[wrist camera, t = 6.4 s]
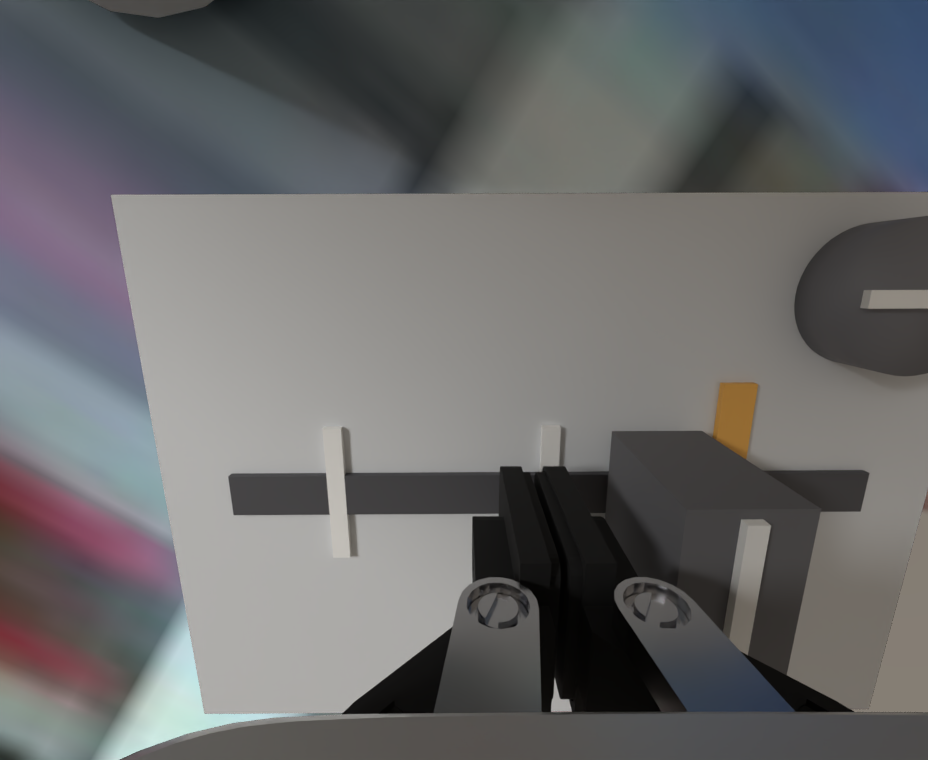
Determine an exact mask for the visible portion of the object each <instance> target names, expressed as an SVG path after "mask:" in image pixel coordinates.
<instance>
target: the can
mask: <svg viewBox="0 0 928 760" xmlns="http://www.w3.org/2000/svg"><path fill="white" fill-rule="evenodd" d="M89 1H91V2H93V3H95V4H97V5H99V6H101V7H103V8H105V9H107V10H109V11H113V12H120V13H127V14H135V15H142V16H149V17H156V18H160V17H164V16H169V15H173V14H177V13H182V12H186V11H190V10H194V9H199V8H203V7H205V6H207V5H208V4H209V3H211V2H212V1H214V0H89Z"/></svg>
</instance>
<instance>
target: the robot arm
mask: <svg viewBox="0 0 928 760" xmlns="http://www.w3.org/2000/svg"><path fill="white" fill-rule="evenodd" d="M554 680H556V685H557V689H558V693H559V697H560V699H569V702H570V706H571V710H572V712H551V703H552V699H553V695H554ZM120 760H928V713H918V712H916V713H915V712H914V713H913V712H912V713H911V712H907V713H906V712H904V713H903V712H854V711H852V710H851V709H849V708H847V707H846V706H844V705H842V704H841V703H839V702H837V701H836V700H834V699H832V698H830V697H828V696H826V695H824V694H822V693H820V692H818V691H816V690H814V689H812V688H810V687H808V686H807V685H805V684H803V683H801V682H799V681H797V680H795V679H793V678H791V677H789V676H787V675H785V674H783V673H781V672H779V671H778V670H776V669H774V668H772V667H770V666H768V665H766V664H764V663H762V662H760V661H758V660H756V659H754V658H752V657H750V656H749V655H747V654H745V653H743V652H741V651H739V649H738V648H737V647H736V646H735V645H734V644H733V643H732V642H731V641H730V640H729V638H728V637H727V636H726V635H725V634H724V633H723V632H722V631H721V630H720V629H719V628H718V626H717V625H716V624H715V623H714V622H713V621H712V620H711V619H710V618H709V617H708V616H707V614H706V613H705V612H704V611H703V610H702V609H701V608H700V607H699V606H698V605H697V604H696V602H695V601H694V600H693V599H692V598H690V597H689V596H688V595H687V594H686V593H685V592H684V591H682V590H680V589H679V588H677V587H675V586H674V585H672V584H669V583H667V582H664V581H661V580H658V579H653V578H648V577H638V575H637V573H636V572H635V570H634V568H633V567H632V565H631V563H630V561H629V560H628V558H627V556H626V555H625V553H624V551H623V549H622V548H621V546H620V544H619V542H618V541H617V539H616V537H615V536H614V534H613V532H612V530H611V529H610V527H609V525H608V524H607V522H606V520H605V519H604V518H603V517H601V516H591V514H590V512H589V510H588V508H587V506H586V504H585V502H584V501H583V499H582V497H581V495H580V493H579V491H578V489H577V488H576V486H575V484H574V482H573V480H572V478H571V476H570V474H569V473H568V471H567V469H566V467H565V466H543V468H542V472H535V478H534V483H533V480H532V477H531V474H530V472H523V470H522V467H521V466H500V475H499V516H472V583H471V584H469V585H468V586H467V587H466V588H465V589H464V590H463V591H462V593H461V595H460V598H459V600H458V604H457V609H456V613H455V618H454V622H453V627H451V628H450V629H449V630H447V631H446V632H445V633H444V634H442V635H441V636H440V637H438V638H437V639H436V640H434V641H433V642H432V643H430V644H429V645H428V646H427V647H425V648H424V649H423V650H421V651H420V652H419V653H417V654H416V655H415V656H413V657H412V658H411V659H410V660H408V661H407V662H406V663H404V664H403V665H402V666H400V667H399V668H398V669H397V670H395V671H394V672H393V673H391V674H390V675H389V676H387V677H386V678H385V679H383V680H382V681H381V682H380V683H378V684H377V685H376V686H374V687H373V688H372V689H370V690H369V691H368V692H366V693H365V694H364V695H363V696H361V697H360V698H359V699H357V700H356V701H355V702H354V703H353V704H352V705H350V706H349V707H348V708H347V709H346V710H345V711H344V712H343V713H342V715H322V716H302V717H281V718H269V719H261V720H254V721H246V722H239V723H232V724H227V725H223V726H219V727H214V728H210V729H206V730H202V731H197V732H193V733H189V734H185V735H183V736H180V737H177V738H174V739H171V740H168V741H166V742H163V743H160V744H157V745H154V746H152V747H149V748H146V749H143V750H140V751H138V752H136V753H133V754H131V755H129V756H127V757H124V758H122V759H120Z"/></svg>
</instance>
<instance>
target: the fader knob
mask: <svg viewBox="0 0 928 760" xmlns="http://www.w3.org/2000/svg"><path fill="white" fill-rule="evenodd" d="M820 513H821V508H819V507H818V506H816V505H815V504H813V503H812V502H810V501H808V500H807V499H805V498H804V497H802V496H801V495H799V494H798V493H796V492H795V491H793V490H792V489H790V488H789V487H787V486H786V485H784V484H783V483H781V482H779V481H778V480H776V479H775V478H773V477H772V476H770V475H769V474H767V473H766V472H764V471H763V470H761V469H760V468H758V467H757V466H755V465H754V464H752V463H750V462H749V461H747V460H746V459H744V458H743V457H741V456H740V455H738V454H737V453H735V452H734V451H732V450H731V449H729V448H728V447H726V446H724V445H723V444H721V443H720V442H718V441H717V440H715V439H714V438H712V437H711V436H709V435H708V434H706V433H705V432H703V431H612V437H611V449H610V462H609V474H608V487H607V499H606V512H605V520H606V522H607V524H608V525H609V527H610V529H611V530H612V532H613V534H614V536H615V537H616V539H617V541H618V542H619V544H620V546H621V548H622V549H623V551H624V553H625V555H626V556H627V558H628V560H629V561H630V563H631V565H632V567H633V568H634V570H635V572H636V573H637V575H638V577H648V578H653V579H658V580H661V581H664V582H667V583H669V584H672V585H674V586H675V587H677V588H679V589H680V590H682V591H684V592H685V593H686V594H687V595H688V596H689V597H690V598H692V599H693V600H694V601H695V602H696V604H697V605H698V606H699V607H700V608H701V609H702V610H703V611H704V612H705V613H706V614H707V616H708V617H709V618H710V619H711V620H712V621H713V622H714V623H715V624H716V625H717V626H718V628H719V629H720V630H721V631H722V632H723V633H724V634H725V635H726V636H727V637H728V638H729V640H730V641H731V642H732V643H733V644H734V645H735V646H736V647H737V648H738V649H739V651H741V652H743V653H745V654H747V655H749V656H750V657H752V658H754V659H756V660H758V661H760V662H762V663H764V664H766V665H768V666H770V667H772V668H774V669H776V670H778V671H779V672H781V673H783V674H785V675H787V671H788V667H789V662H790V657H791V652H792V647H793V643H794V638H795V633H796V628H797V623H798V618H799V614H800V609H801V604H802V599H803V594H804V590H805V585H806V580H807V575H808V570H809V566H810V561H811V556H812V551H813V546H814V542H815V537H816V532H817V527H818V522H819V518H820Z"/></svg>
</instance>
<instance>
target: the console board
mask: <svg viewBox="0 0 928 760" xmlns="http://www.w3.org/2000/svg"><path fill="white" fill-rule="evenodd" d="M111 199H112V205H113V210H114V216H115V221H116V227H117V232H118V238H119V243H120V249H121V254H122V260H123V265H124V271H125V276H126V282H127V287H128V293H129V299H130V304H131V310H132V315H133V321H134V326H135V332H136V337H137V343H138V348H139V354H140V359H141V365H142V370H143V376H144V381H145V387H146V393H147V398H148V404H149V409H150V415H151V420H152V426H153V431H154V437H155V442H156V448H157V453H158V459H159V464H160V470H161V475H162V481H163V487H164V492H165V498H166V503H167V509H168V514H169V520H170V525H171V531H172V536H173V542H174V547H175V553H176V558H177V564H178V569H179V575H180V581H181V586H182V592H183V597H184V603H185V608H186V614H187V619H188V625H189V630H190V636H191V641H192V647H193V652H194V658H195V663H196V669H197V674H198V680H199V686H200V691H201V697H202V702H203V708H204V713H205V714H248V713H343V712H344V711H345V710H346V709H347V708H348V707H349V706H350V705H352V704H353V703H354V702H355V701H356V700H357V699H359V698H360V697H361V696H363V695H364V694H365V693H366V692H368V691H369V690H370V689H372V688H373V687H374V686H376V685H377V684H378V683H380V682H381V681H382V680H383V679H385V678H386V677H387V676H389V675H390V674H391V673H393V672H394V671H395V670H397V669H398V668H399V667H400V666H402V665H403V664H404V663H406V662H407V661H408V660H410V659H411V658H412V657H413V656H415V655H416V654H417V653H419V652H420V651H421V650H423V649H424V648H425V647H427V646H428V645H429V644H430V643H432V642H433V641H434V640H436V639H437V638H438V637H440V636H441V635H442V634H444V633H445V632H446V631H447V630H449V629H450V628H451V627H453V622H454V618H455V613H456V609H457V604H458V600H459V598H460V595H461V593H462V591H463V590H464V589H465V588H466V587H467V586H468V585H469V584H471V583H472V516H499V475H500V466H521V467H522V470H523V472H530V474H531V477H532V480H533V483H534V478H535V472H542V468H543V466H565V467H566V469H567V471H568V473H569V474H570V476H571V478H572V480H573V482H574V484H575V486H576V488H577V489H578V491H579V493H580V495H581V497H582V499H583V501H584V502H585V504H586V506H587V508H588V510H589V512H590V514H591V516H601V517H603V518H604V519H605V512H606V499H607V487H608V474H609V462H610V449H611V437H612V431H703V432H705V433H706V434H708V435H709V436H711V437H712V438H714V439H715V440H717V441H718V442H720V443H721V444H723V445H724V446H726V447H728V448H729V449H731V450H732V451H734V452H735V453H737V454H738V455H740V456H741V457H743V458H744V459H746V460H747V461H749V462H750V463H752V464H754V465H755V466H757V467H758V468H760V469H761V470H763V471H764V472H766V473H767V474H769V475H770V476H772V477H773V478H775V479H776V480H778V481H779V482H781V483H783V484H784V485H786V486H787V487H789V488H790V489H792V490H793V491H795V492H796V493H798V494H799V495H801V496H802V497H804V498H805V499H807V500H808V501H810V502H812V503H813V504H815V505H816V506H818V507H819V508H821V513H820V518H819V522H818V527H817V532H816V537H815V542H814V546H813V551H812V556H811V561H810V566H809V570H808V575H807V580H806V585H805V590H804V594H803V599H802V604H801V609H800V614H799V618H798V623H797V628H796V633H795V638H794V643H793V647H792V652H791V657H790V662H789V667H788V671H787V676H789V677H791V678H793V679H795V680H797V681H799V682H801V683H803V684H805V685H807V686H808V687H810V688H812V689H814V690H816V691H818V692H820V693H822V694H824V695H826V696H828V697H830V698H832V699H834V700H836V701H837V702H839V703H841V704H842V705H844V706H846V707H847V708H849V709H869V706H870V703H871V699H872V695H873V692H874V688H875V684H876V680H877V676H878V673H879V669H880V665H881V662H882V658H883V654H884V651H885V647H886V643H887V639H888V635H889V632H890V628H891V624H892V621H893V617H894V613H895V610H896V606H897V602H898V598H899V595H900V591H901V587H902V583H903V580H904V576H905V572H906V569H907V565H908V561H909V557H910V553H911V550H912V546H913V543H914V539H915V535H916V531H917V527H918V524H919V520H920V516H921V513H922V509H923V505H924V502H925V498H926V494H927V490H928V192H761V193H481V194H202V195H111ZM551 711H572V710H571V706H570V702H569V699H560V697H559V693H558V689H557V685H556V680H554V695H553V699H552V703H551Z"/></svg>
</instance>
